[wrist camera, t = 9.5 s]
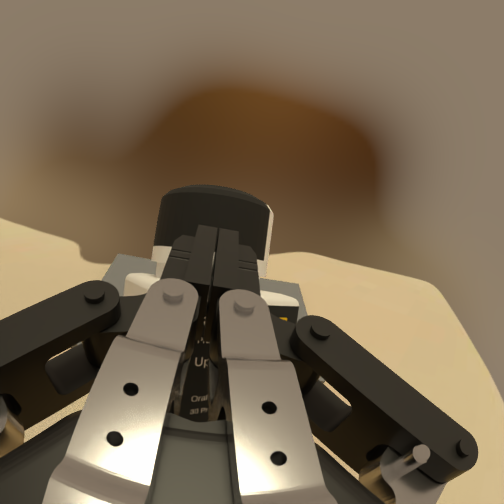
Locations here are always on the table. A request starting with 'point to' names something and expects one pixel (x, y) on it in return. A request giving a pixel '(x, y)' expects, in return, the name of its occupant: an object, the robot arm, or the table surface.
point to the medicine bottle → (221, 216)
